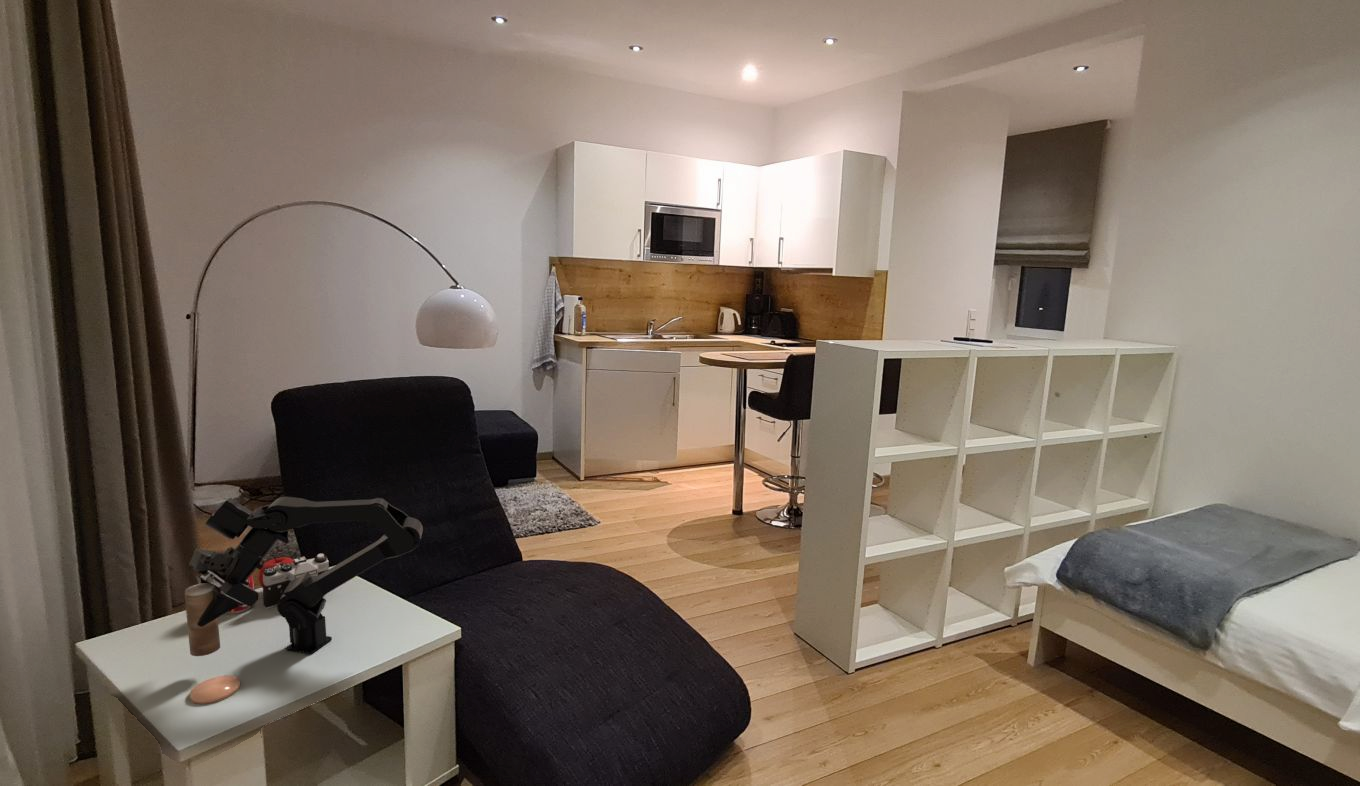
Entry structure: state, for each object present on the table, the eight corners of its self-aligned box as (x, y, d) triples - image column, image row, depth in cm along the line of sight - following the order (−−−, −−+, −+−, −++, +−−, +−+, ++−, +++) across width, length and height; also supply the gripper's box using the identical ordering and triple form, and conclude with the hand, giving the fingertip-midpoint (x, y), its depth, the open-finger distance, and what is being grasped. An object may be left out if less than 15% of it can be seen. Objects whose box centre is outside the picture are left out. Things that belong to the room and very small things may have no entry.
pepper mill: (226, 645, 142) (221, 584, 140) (204, 657, 137) (199, 595, 135) (205, 641, 143) (200, 581, 141) (183, 654, 138) (177, 592, 136)
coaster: (249, 682, 138) (249, 679, 138) (214, 706, 130) (214, 702, 130) (215, 676, 140) (215, 673, 139) (179, 700, 132) (178, 696, 132)
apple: (303, 595, 175) (300, 557, 174) (260, 603, 170) (257, 564, 169) (299, 581, 183) (296, 544, 181) (259, 589, 178) (256, 551, 176)
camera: (274, 623, 164) (274, 586, 161) (260, 600, 171) (259, 564, 168) (340, 603, 174) (340, 568, 171) (323, 582, 181) (324, 548, 178)
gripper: (200, 522, 145) (140, 590, 138) (236, 544, 134) (173, 620, 127) (245, 547, 153) (191, 613, 146) (282, 570, 141) (225, 643, 134)
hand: (194, 621), depth 138 cm, fingers closed on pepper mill, 5 cm apart
